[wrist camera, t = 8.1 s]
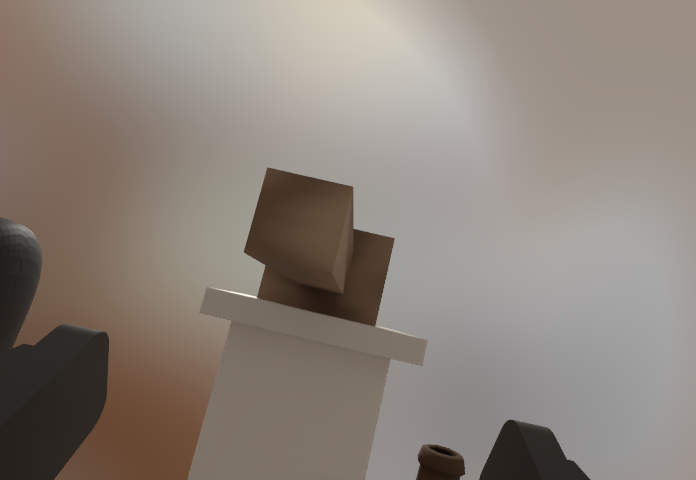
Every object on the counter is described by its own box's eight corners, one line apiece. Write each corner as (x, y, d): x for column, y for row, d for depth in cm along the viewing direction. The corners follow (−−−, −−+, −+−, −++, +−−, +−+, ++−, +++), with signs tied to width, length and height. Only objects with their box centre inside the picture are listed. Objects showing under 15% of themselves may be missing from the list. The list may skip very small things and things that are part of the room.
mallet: (157, 279, 14) (209, 112, 15) (277, 302, 37) (295, 233, 38) (397, 337, 14) (434, 161, 15) (370, 324, 37) (386, 254, 38)
